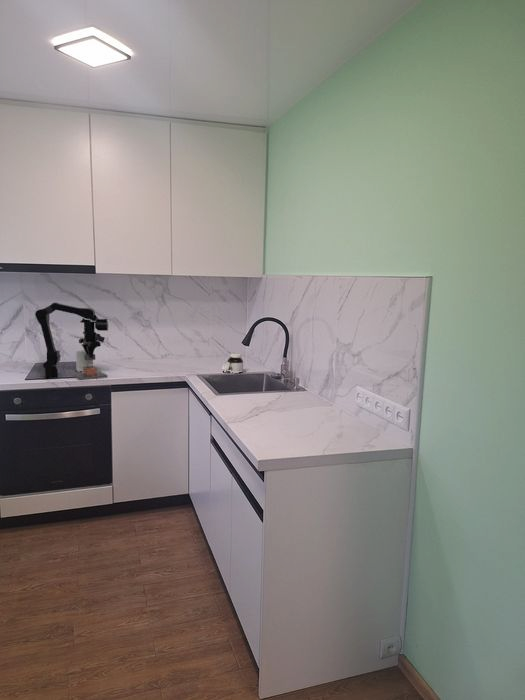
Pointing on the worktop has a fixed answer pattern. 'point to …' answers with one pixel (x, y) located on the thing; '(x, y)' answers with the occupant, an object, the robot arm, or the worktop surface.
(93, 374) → the stand base
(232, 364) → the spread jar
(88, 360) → the jack column
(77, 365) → the supplement box
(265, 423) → the worktop surface
